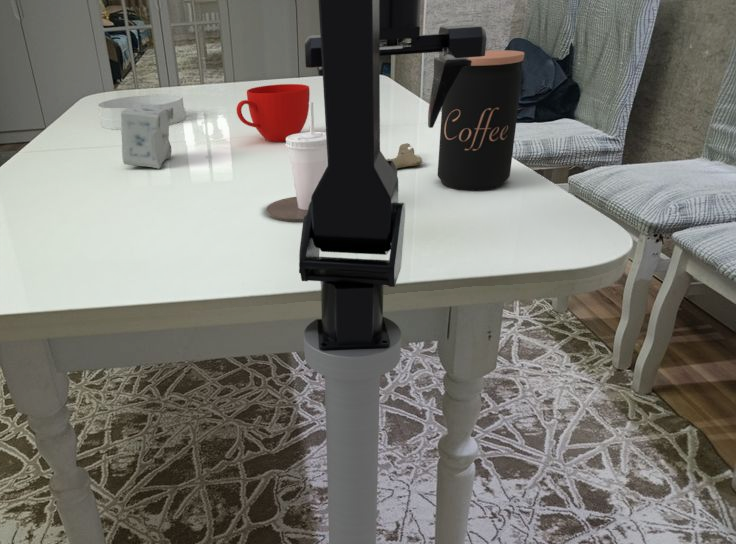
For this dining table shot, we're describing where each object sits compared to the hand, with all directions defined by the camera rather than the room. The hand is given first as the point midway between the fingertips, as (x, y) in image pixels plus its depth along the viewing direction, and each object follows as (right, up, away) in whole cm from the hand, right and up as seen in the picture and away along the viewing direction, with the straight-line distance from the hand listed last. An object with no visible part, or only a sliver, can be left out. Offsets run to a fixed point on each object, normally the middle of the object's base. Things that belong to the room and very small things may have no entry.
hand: (389, 129), depth 73 cm
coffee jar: (+17, +1, +26) cm, 31 cm away
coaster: (-9, -5, +19) cm, 21 cm away
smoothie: (-8, -5, +19) cm, 21 cm away
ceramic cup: (-13, +19, +62) cm, 66 cm away
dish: (-47, +34, +94) cm, 110 cm away
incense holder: (-37, +11, +50) cm, 63 cm away
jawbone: (+3, +7, +39) cm, 40 cm away
